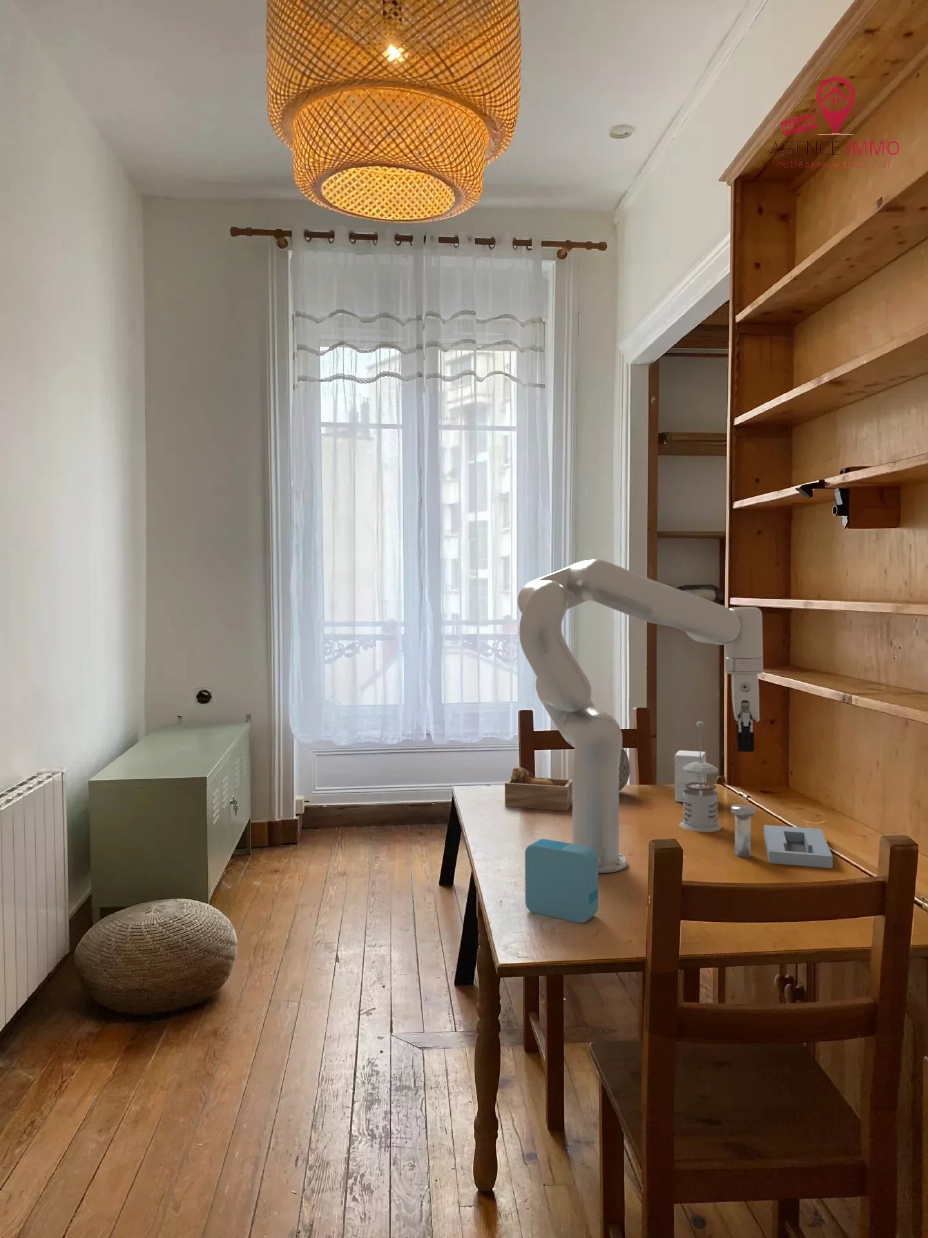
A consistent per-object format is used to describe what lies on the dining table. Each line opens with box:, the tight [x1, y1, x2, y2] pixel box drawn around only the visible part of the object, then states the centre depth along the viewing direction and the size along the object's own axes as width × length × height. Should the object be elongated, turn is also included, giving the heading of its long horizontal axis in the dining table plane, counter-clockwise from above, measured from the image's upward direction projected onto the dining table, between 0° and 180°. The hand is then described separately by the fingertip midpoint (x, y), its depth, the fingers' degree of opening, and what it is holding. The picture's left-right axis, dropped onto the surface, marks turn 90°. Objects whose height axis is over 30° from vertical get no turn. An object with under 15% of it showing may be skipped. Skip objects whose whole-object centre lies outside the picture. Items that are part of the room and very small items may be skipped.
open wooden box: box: [504, 776, 572, 811], centre depth 219 cm, size 9×16×6 cm, turn 73°
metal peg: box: [730, 803, 756, 858], centre depth 175 cm, size 5×5×10 cm
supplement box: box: [674, 750, 707, 803], centre depth 222 cm, size 7×7×13 cm
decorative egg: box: [619, 746, 631, 792], centre depth 229 cm, size 12×12×15 cm
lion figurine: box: [510, 766, 553, 786], centre depth 219 cm, size 15×5×9 cm, turn 62°
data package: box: [524, 838, 599, 924], centre depth 144 cm, size 12×4×12 cm, turn 58°
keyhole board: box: [763, 824, 834, 869], centre depth 178 cm, size 20×12×2 cm, turn 163°
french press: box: [678, 720, 723, 833], centre depth 198 cm, size 10×12×25 cm
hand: (745, 747), depth 175 cm, fingers open, 9 cm apart
